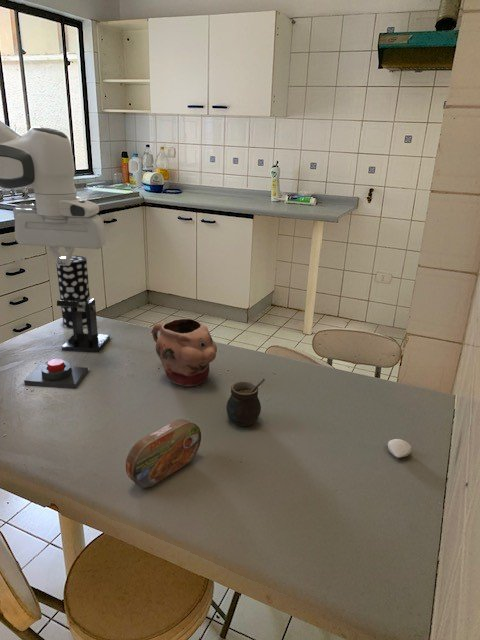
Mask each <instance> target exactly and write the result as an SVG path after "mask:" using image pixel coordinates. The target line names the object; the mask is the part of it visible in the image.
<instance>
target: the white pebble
mask: <svg viewBox="0 0 480 640" xmlns="http://www.w3.org/2000/svg"><path fill="white" fill-rule="evenodd" d="M387 448H388V451H389V452H390V453H391V454H392V455H393V456H394V457H396V458H398V459H400V458H404V457H408V456H409V455H410V454H411V452H412V446H411V445H410V444H409V443H408V442H407V441H406V440H403V439H401V438H394V439H390V440H389V441H388V443H387Z"/></svg>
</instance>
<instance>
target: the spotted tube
mask: <svg viewBox="0 0 480 640" xmlns="http://www.w3.org/2000/svg"><path fill="white" fill-rule="evenodd" d="M63 257H66V255H65V256H63ZM70 259H71V264H70V265H69V266H64V265H56V273H57V282H58V283H57V284H58V290H59V301H73V300H74V299H76V298H80V301H81V302H86V303H87V302H88V301H89V300H90V299H91V296H90V295H91V294H90V293H91V292H90V282H89V273H88V259H87V257H86V256H82V255H72V256H71V257H70ZM60 307H61V316H62V317H61V318H62V326H64V328H67V329H73V324H72V315H71V307H64V306H60ZM82 322H83V329H84V328H86V327H87V317H86V312H82Z"/></svg>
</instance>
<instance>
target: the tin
mask: <svg viewBox="0 0 480 640" xmlns="http://www.w3.org/2000/svg"><path fill="white" fill-rule="evenodd" d="M201 442H202V432H201V428H200V427H199V425H197V423H195V422H192V421H190V420H187V419H185V418H180V419H175V420H174V421H171V422H169V423H167V424H166V425H164V426H162V427H161V428H158V429H156V430H155V431H153V432H151V433H149V434H147V435H145V436H144V437H141V438H140V439H139V440H138V441H137V442H135V443H134V444H133V446H132V447H131V449H130V450H129V452H128V454H127V456H126V458H125V472H126V475H127V477H128V478H129V479H130V480H131V481H132V482H134V483H135V485H136V486H138V487H139V488H143V489H145V488H146V489H147V488H150V487H153V486H155V485H157V484H159V482H161V481H162V480H164V479H166V478H168V477H169V476H170V475H172V474H174V473H175V472H177V471H178V470H180V469H182V468H183V467H185V466H187V464H189V463H191V461H192V460H193V459H194V458H195V456H196V455H197V453H198V452H199V449H200V446H201Z"/></svg>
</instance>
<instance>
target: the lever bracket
mask: <svg viewBox="0 0 480 640" xmlns="http://www.w3.org/2000/svg"><path fill="white" fill-rule="evenodd" d="M73 301H76V302H81V301H80V298H76V299H74V300H73ZM85 306H86V317H87V333H85V332H84V328H83V322H82V312H80V311H77V308H74V307H71V315H72V324H73V328H72V331H73V332H72V333H73V334H72V335H71V337H69V338H68V339H67V340H66V341H65V342H64V344H63V345H62V346H61V350H62V351H68V352H82V353H98V354H99V353H100V352H101V351H102V349H103V348H104V347H105V346H106V345H107V343H108V342H109V341H110V339H111V336H110V334H101V333H100V334H99V333H98V321H97V309H96V299H95V298H91V297H90V300H89V301H88V302H87V303H86V304H85Z"/></svg>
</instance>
